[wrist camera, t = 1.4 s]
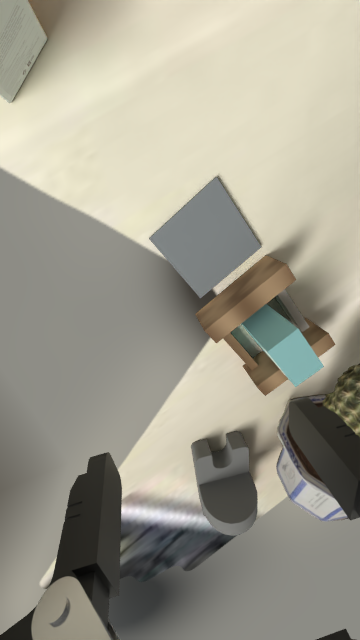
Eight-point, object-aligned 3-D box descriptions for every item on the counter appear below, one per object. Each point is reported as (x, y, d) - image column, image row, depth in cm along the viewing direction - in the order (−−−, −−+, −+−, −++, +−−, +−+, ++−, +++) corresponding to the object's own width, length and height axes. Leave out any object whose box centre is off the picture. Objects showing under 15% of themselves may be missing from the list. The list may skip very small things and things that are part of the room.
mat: (215, 177, 28) (216, 176, 28) (260, 246, 33) (261, 247, 32) (149, 238, 30) (149, 238, 30) (199, 297, 34) (200, 298, 34)
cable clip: (240, 428, 47) (269, 487, 38) (242, 487, 55) (266, 547, 46) (190, 441, 46) (206, 505, 37) (199, 498, 54) (214, 563, 45)
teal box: (256, 296, 36) (298, 328, 27) (279, 327, 39) (324, 366, 30) (233, 314, 36) (267, 352, 27) (257, 344, 39) (295, 387, 30)
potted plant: (395, 525, 42) (573, 438, 22) (290, 545, 40) (386, 469, 21) (331, 424, 55) (409, 314, 36) (251, 435, 53) (287, 327, 34)
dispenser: (265, 255, 33) (286, 263, 29) (312, 328, 40) (335, 344, 35) (195, 314, 35) (204, 330, 31) (250, 374, 42) (265, 395, 37)
